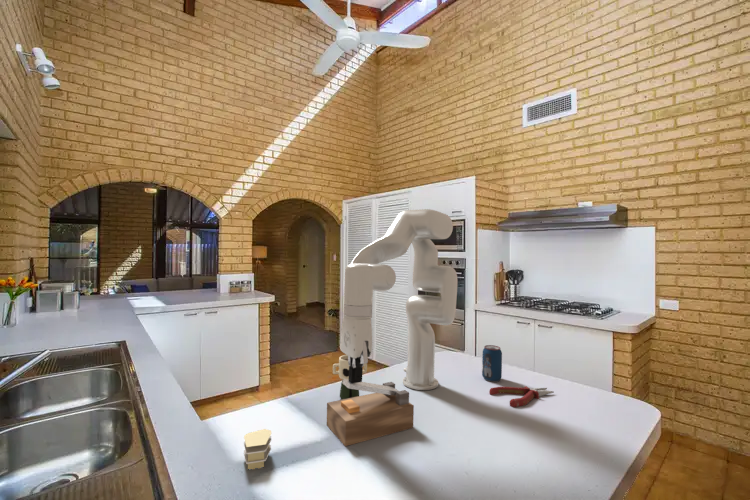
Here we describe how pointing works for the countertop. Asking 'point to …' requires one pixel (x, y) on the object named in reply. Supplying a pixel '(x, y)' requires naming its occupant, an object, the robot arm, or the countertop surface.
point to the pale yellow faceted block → (257, 448)
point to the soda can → (492, 363)
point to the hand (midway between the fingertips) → (355, 381)
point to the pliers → (521, 391)
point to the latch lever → (370, 387)
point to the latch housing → (370, 416)
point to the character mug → (346, 377)
